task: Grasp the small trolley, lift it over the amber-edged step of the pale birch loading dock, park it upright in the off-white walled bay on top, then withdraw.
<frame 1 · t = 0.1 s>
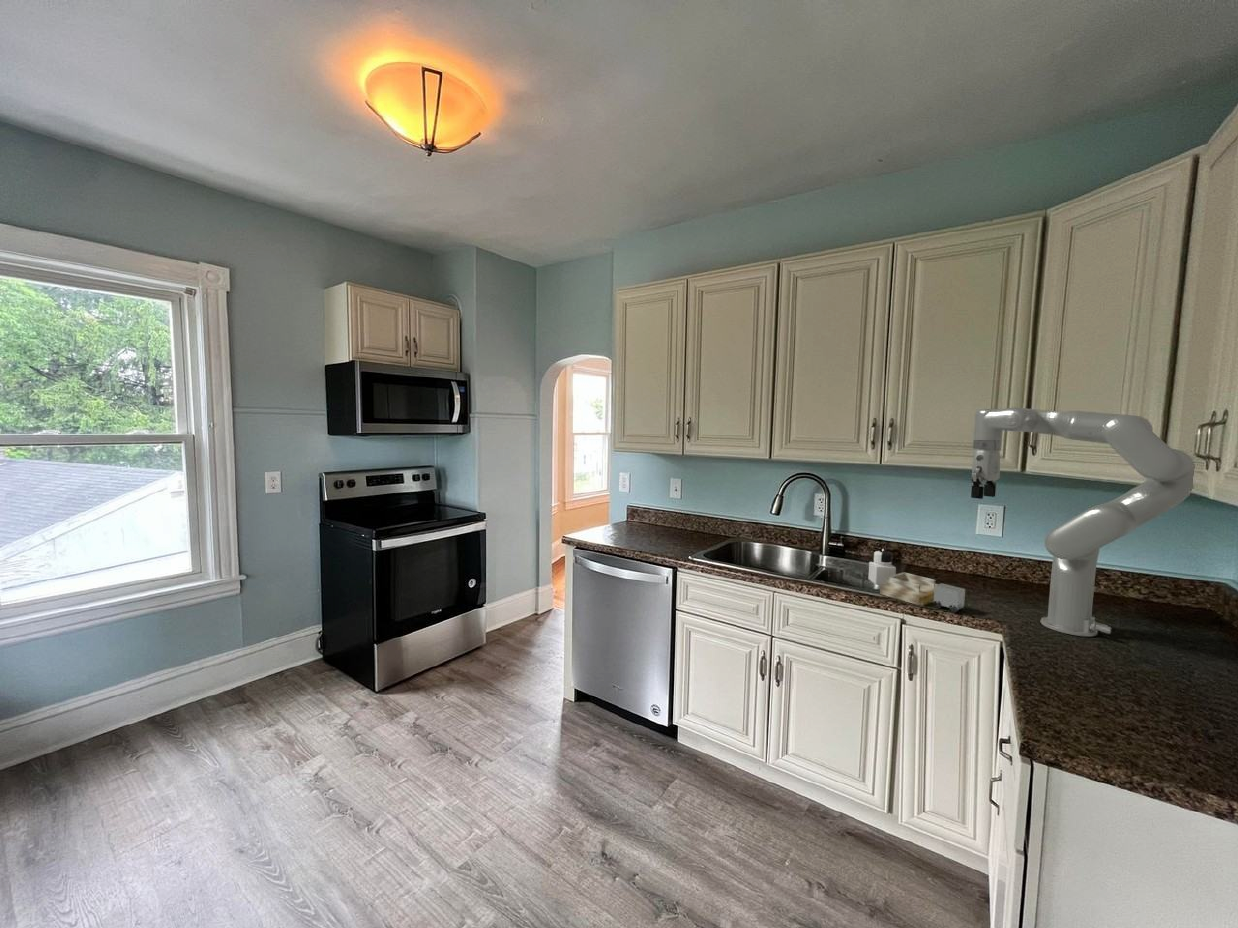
hand: (983, 497, 165), 37 cm above the worktop, tool pointing down, fingers open, 9 cm apart
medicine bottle: (881, 583, 190), on the worktop
loading dock: (914, 594, 177), on the worktop
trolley: (948, 608, 163), on the worktop
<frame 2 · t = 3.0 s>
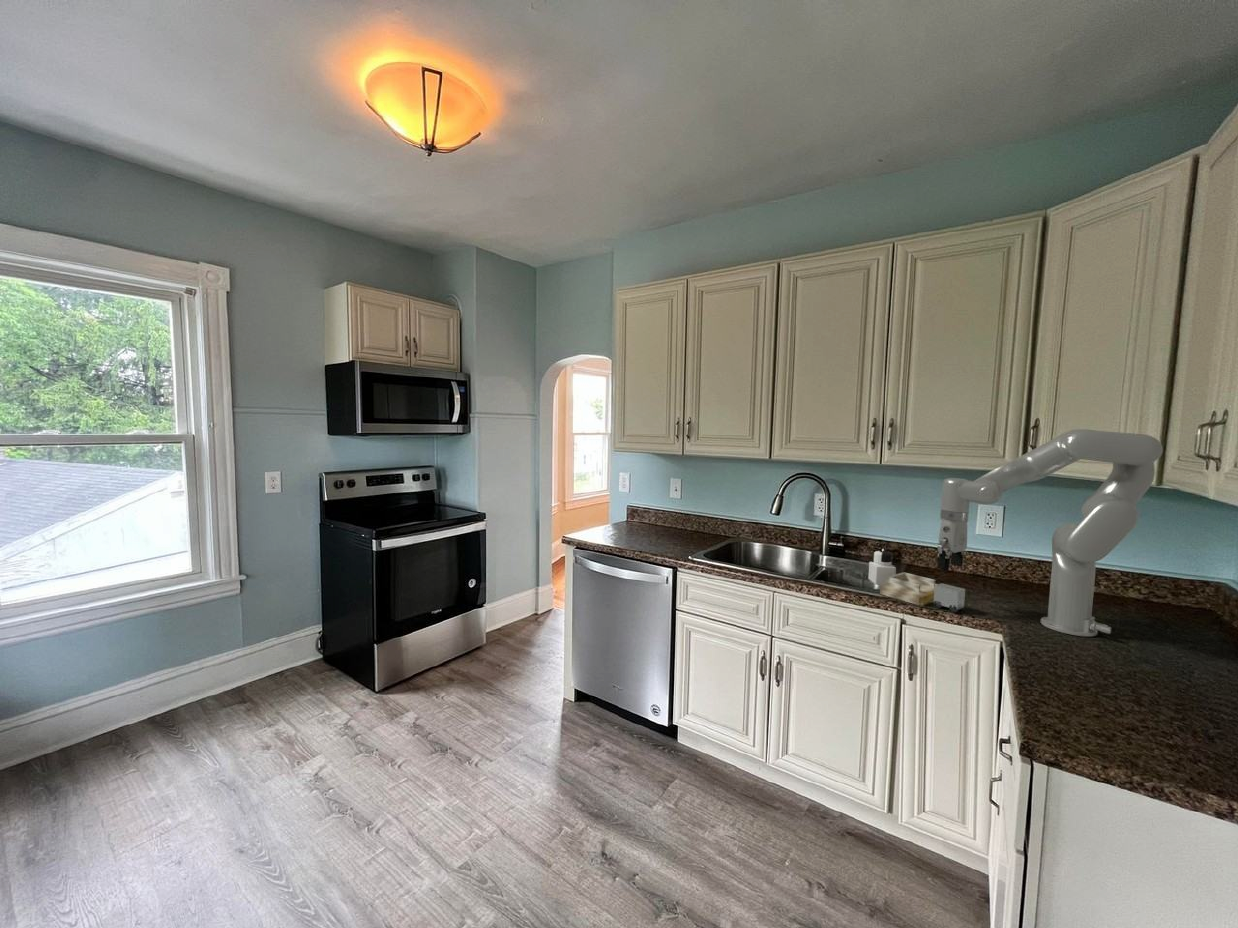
hand: (949, 567, 162), 14 cm above the worktop, tool pointing down, fingers open, 9 cm apart
nothing on the worktop moved.
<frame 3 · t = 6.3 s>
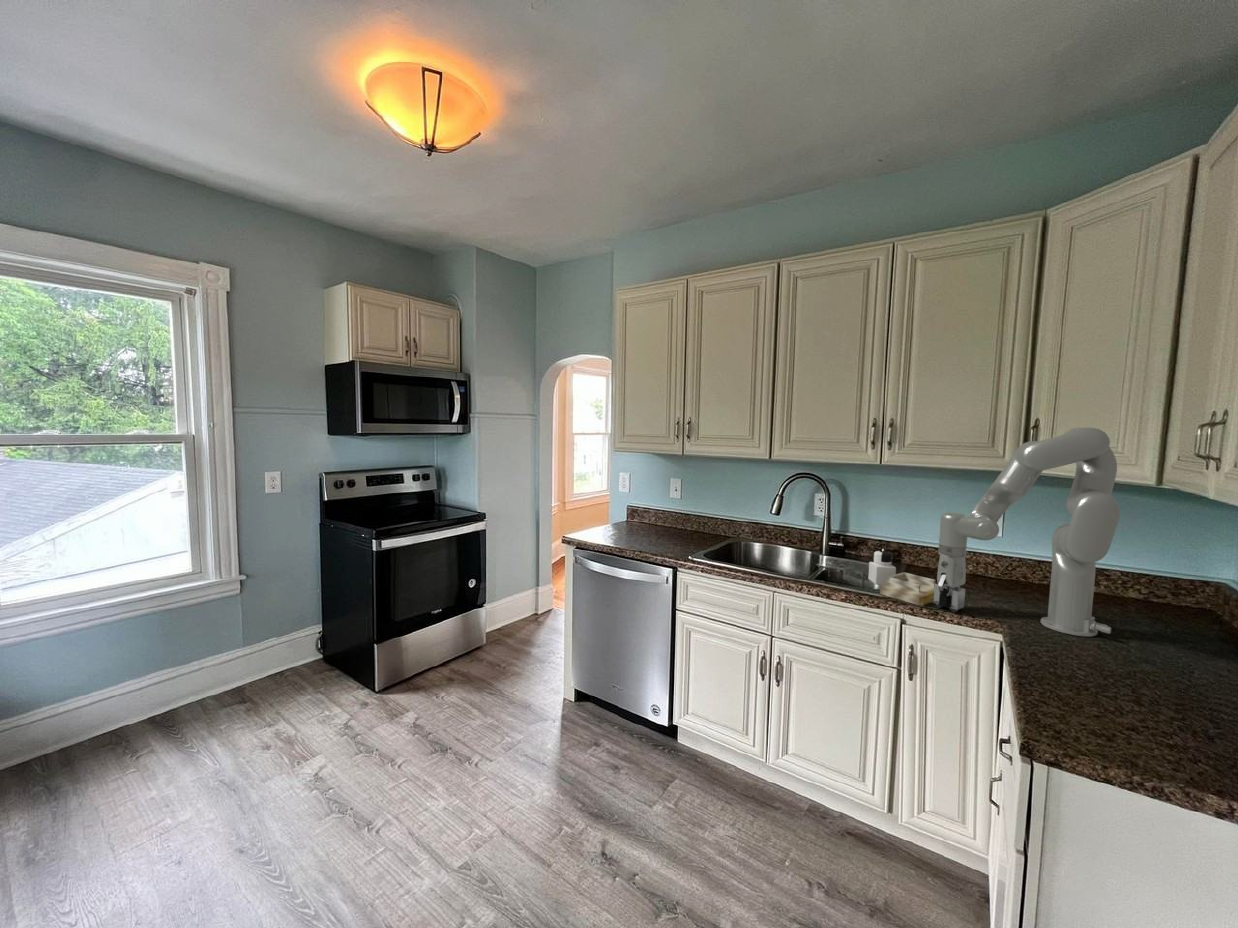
hand: (948, 604, 163), 1 cm above the worktop, tool pointing down, fingers closed on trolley, 5 cm apart
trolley: (948, 608, 163), on the worktop, touching gripper
everything else where it was.
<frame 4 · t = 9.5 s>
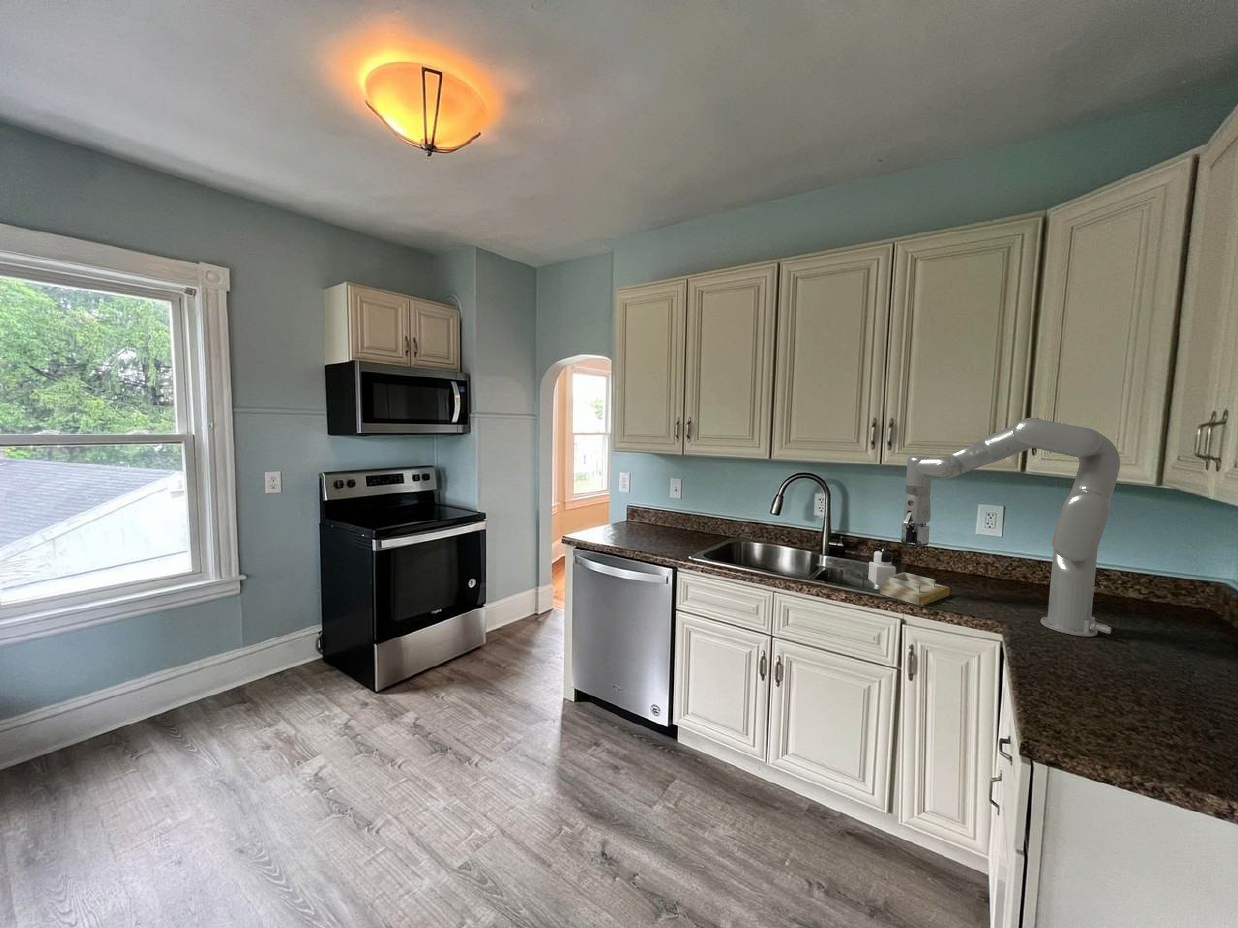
hand: (914, 541, 176), 19 cm above the worktop, tool pointing down, fingers closed on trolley, 5 cm apart
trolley: (914, 544, 176), point 18 cm above the worktop, touching gripper
everything else where it was.
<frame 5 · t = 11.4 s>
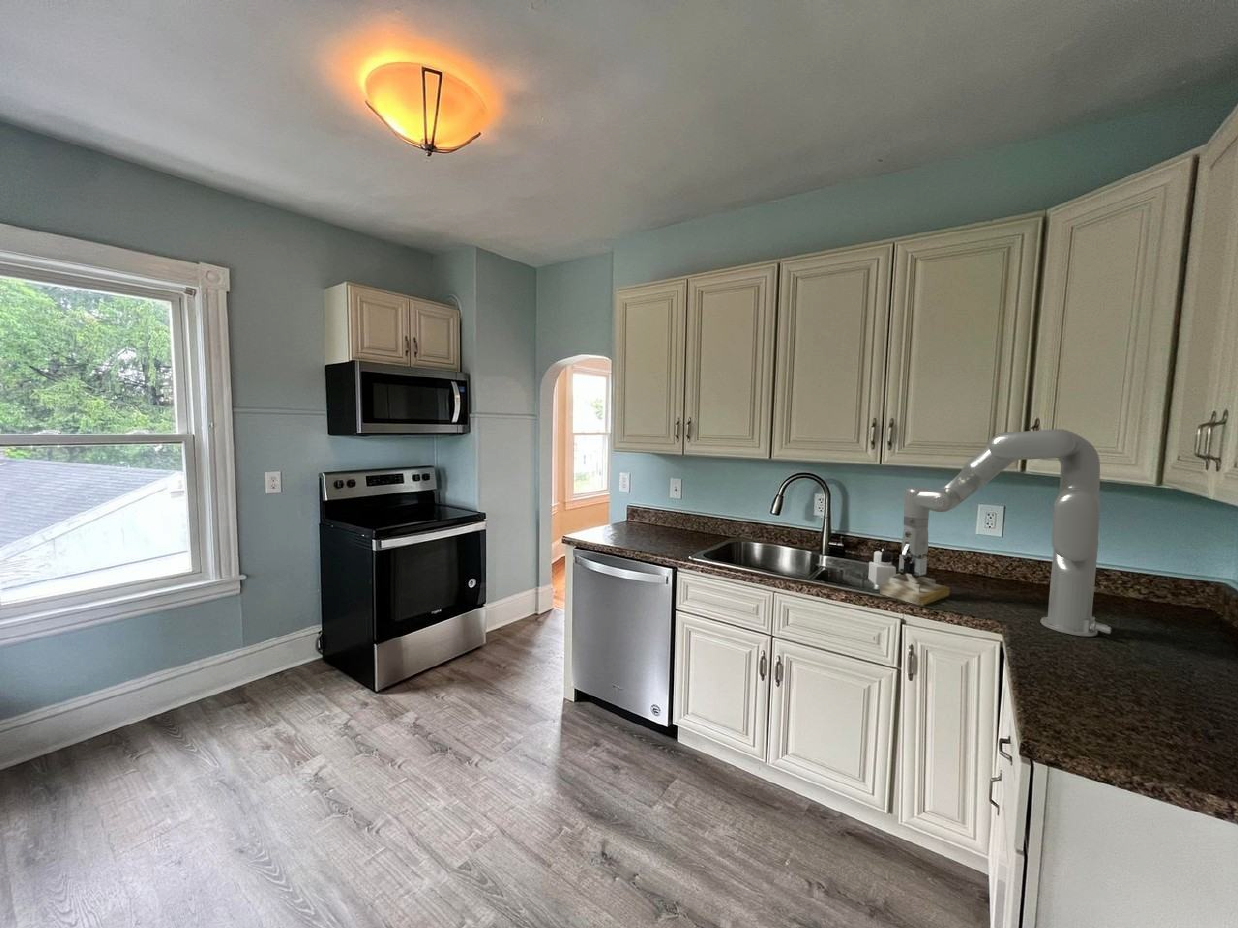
hand: (912, 571, 177), 8 cm above the worktop, tool pointing down, fingers closed on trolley, 5 cm apart
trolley: (911, 575, 177), point 7 cm above the worktop, touching gripper
everything else where it was.
when the fingers open (6 cm above the worktop, at t = 12.7 s): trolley drops 1 cm, resting on loading dock.
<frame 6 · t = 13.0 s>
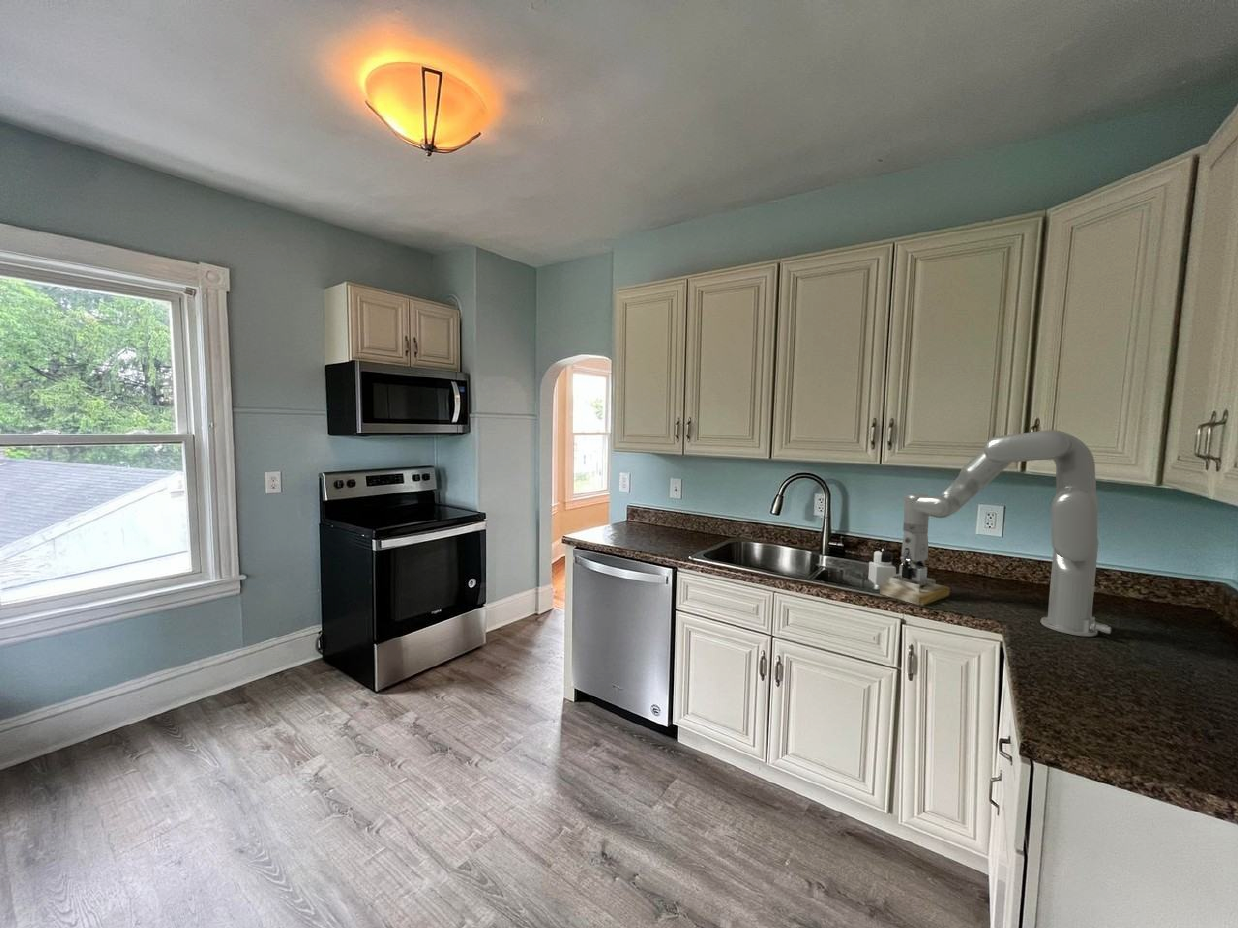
hand: (912, 576, 177), 6 cm above the worktop, tool pointing down, fingers open, 7 cm apart
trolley: (912, 585, 177), point 3 cm above the worktop, touching loading dock
everything else where it was.
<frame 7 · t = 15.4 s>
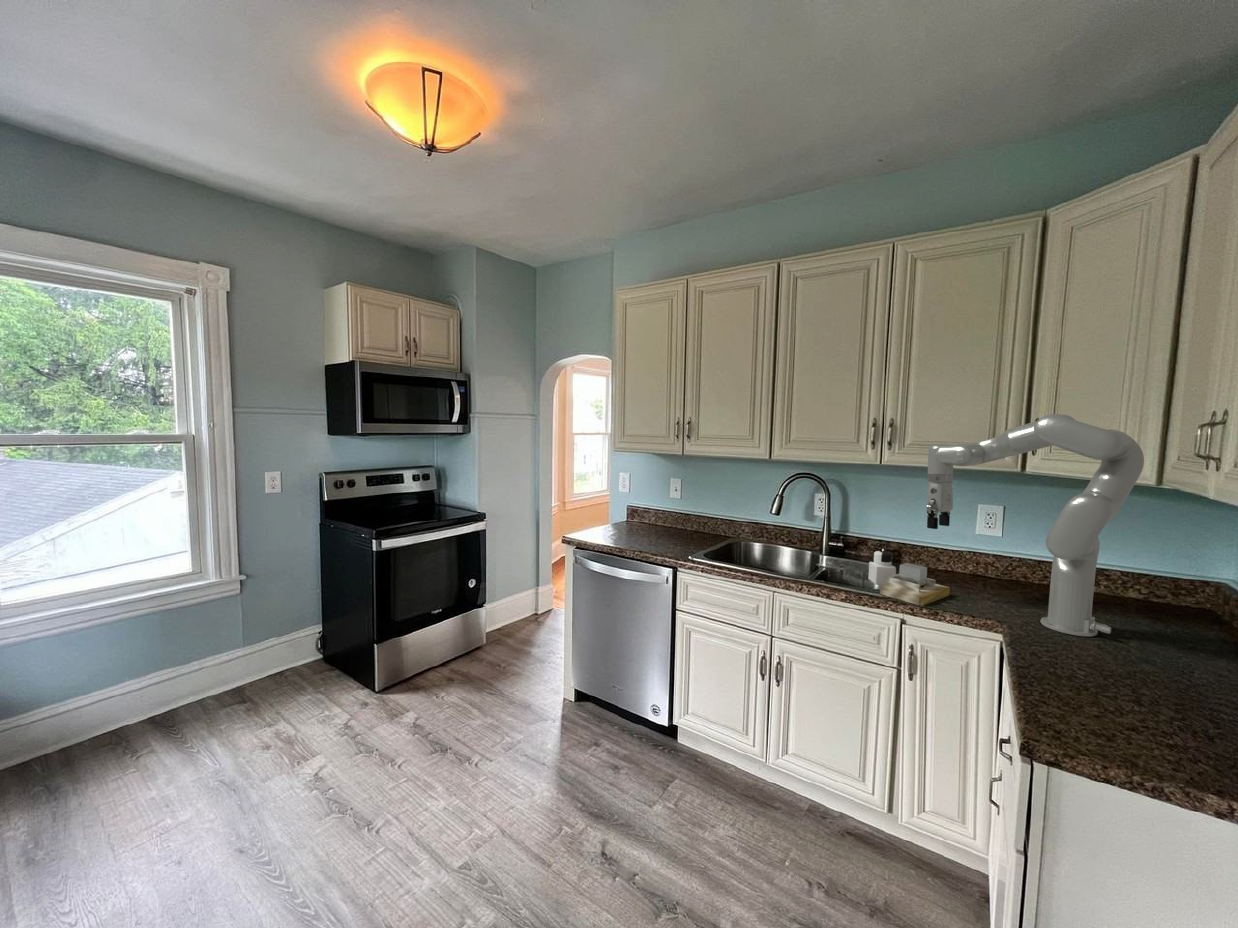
hand: (938, 527, 176), 24 cm above the worktop, tool pointing down, fingers open, 9 cm apart
nothing on the worktop moved.
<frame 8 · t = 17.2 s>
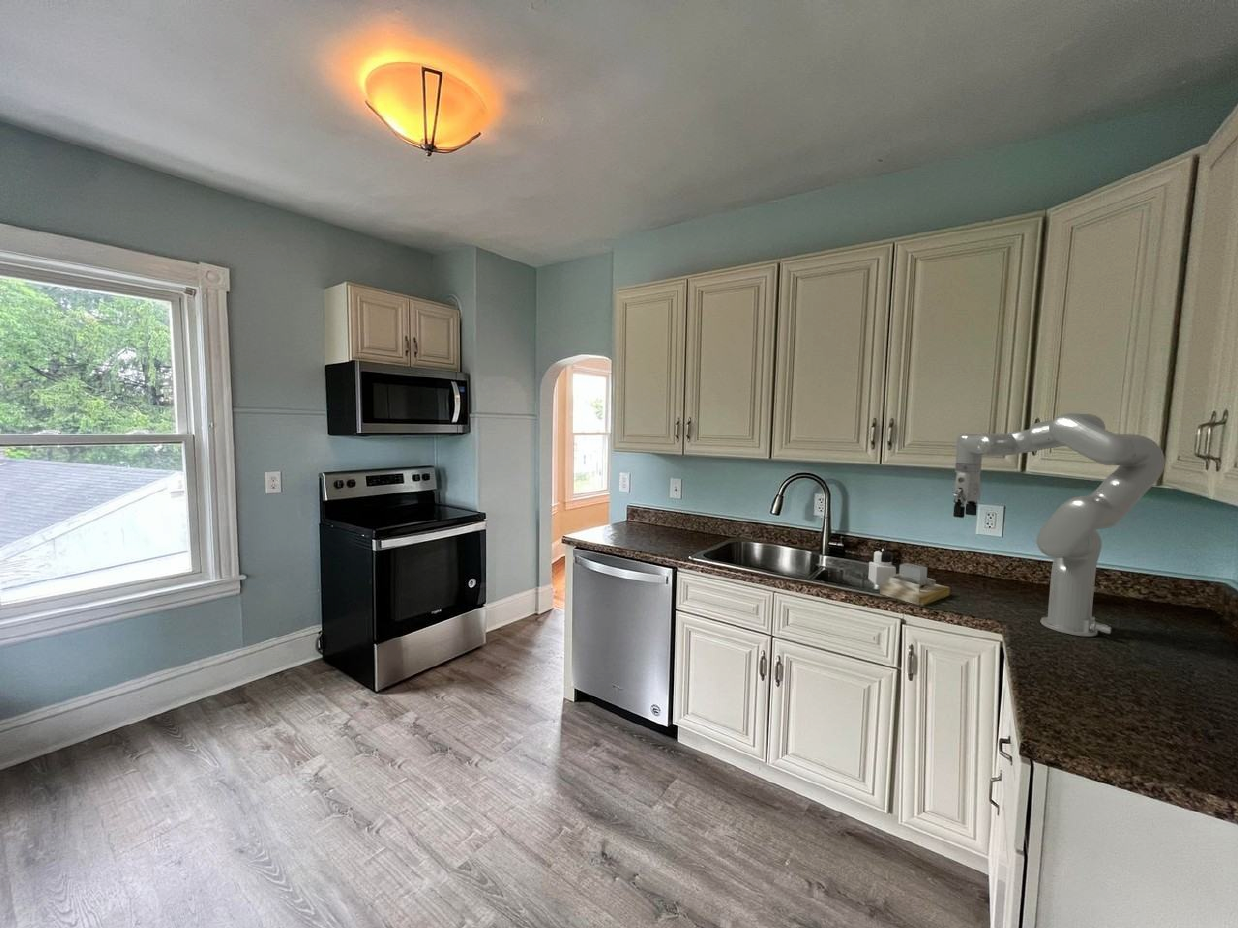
hand: (964, 516, 177), 28 cm above the worktop, tool pointing down, fingers open, 9 cm apart
nothing on the worktop moved.
at the end: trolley 0.0 cm from the target spot on the loading dock, point 3.0 cm above the loading dock's base; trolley tilted 0°; the gripper is holding nothing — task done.
